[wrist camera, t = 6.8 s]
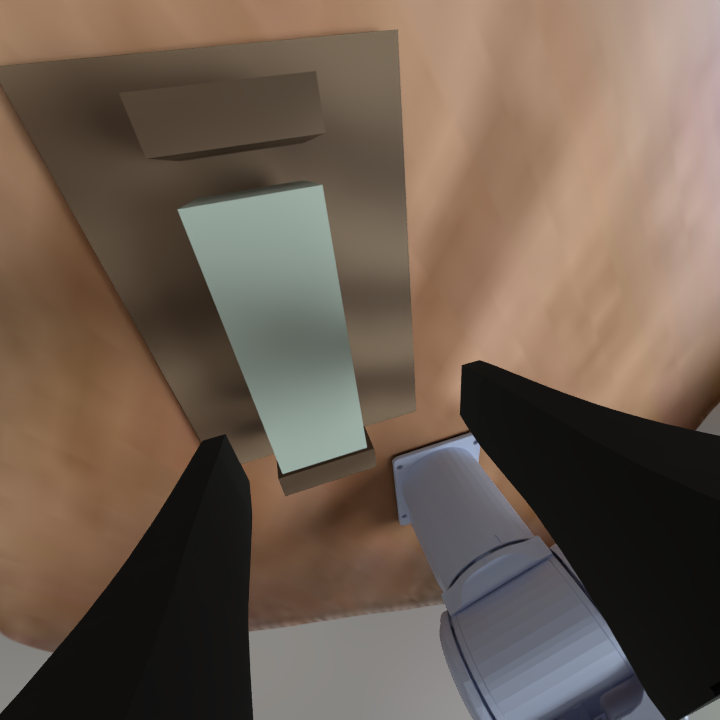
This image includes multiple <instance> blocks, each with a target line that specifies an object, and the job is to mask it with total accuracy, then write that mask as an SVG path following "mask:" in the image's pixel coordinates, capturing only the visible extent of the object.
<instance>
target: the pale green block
mask: <svg viewBox="0 0 720 720" xmlns="http://www.w3.org/2000/svg"><path fill="white" fill-rule="evenodd" d="M177 210H178V212H179V215H180V217H181V220H182V222H183V225H184V227H185V230H186V232H187V235H188V237H189V240H190V242H191V245H192V248H193V250H194V253H195V255H196V258H197V260H198V263H199V265H200V268H201V270H202V273H203V275H204V278H205V280H206V283H207V285H208V288H209V290H210V293H211V295H212V298H213V300H214V303H215V305H216V308H217V310H218V313H219V315H220V318H221V320H222V323H223V325H224V328H225V330H226V333H227V336H228V338H229V341H230V343H231V346H232V348H233V351H234V353H235V356H236V358H237V361H238V363H239V366H240V368H241V371H242V373H243V376H244V378H245V381H246V383H247V386H248V388H249V391H250V393H251V396H252V398H253V401H254V403H255V406H256V408H257V411H258V413H259V416H260V418H261V421H262V424H263V426H264V429H265V431H266V434H267V436H268V439H269V441H270V444H271V446H272V449H273V451H274V454H275V456H276V459H277V461H278V464H279V466H280V469H281V471H282V474H285V473H288V472H291V471H294V470H297V469H300V468H304V467H307V466H310V465H313V464H316V463H320V462H323V461H326V460H329V459H332V458H335V457H339V456H342V455H345V454H348V453H351V452H355V451H358V450H361V449H364V448H367V444H366V438H365V432H364V427H363V421H362V415H361V409H360V403H359V397H358V391H357V385H356V379H355V374H354V368H353V362H352V356H351V350H350V344H349V338H348V332H347V326H346V321H345V315H344V309H343V303H342V297H341V291H340V285H339V279H338V273H337V268H336V262H335V256H334V250H333V244H332V238H331V232H330V226H329V220H328V215H327V209H326V203H325V197H324V191H323V185H321V184H317V183H313V182H309V181H306V180H302V181H295V182H289V183H283V184H277V185H271V186H265V187H259V188H253V189H247V190H241V191H235V192H229V193H223V194H217V195H211V196H205V197H199V198H196V199H195V200H193V201H191V202H190V203H188V204H186V205H184V206H183V207H181V208H179V209H177Z"/></svg>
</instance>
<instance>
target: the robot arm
mask: <svg viewBox="0 0 720 720" xmlns="http://www.w3.org/2000/svg"><path fill="white" fill-rule="evenodd" d="M460 415H461V417H462V419H463V420H464V422H465V424H466V425H467V427H468V429H469V430H470V433H467V434H464V435H461V436H458V437H455V438H452V439H449V440H446V441H443V442H440V443H436V444H433V445H430V446H427V447H424V448H421V449H418V450H415V451H412V452H409V453H406V454H403V455H399V456H397V457H395V458H394V459H393V460H392V465H393V473H394V482H395V491H396V500H397V509H398V517H399V522H400V524H401V525H407V524H409V523H411V524H412V527H413V529H414V531H415V533H416V536H417V538H418V540H419V542H420V545H421V547H422V549H423V551H424V554H425V556H426V558H427V560H428V563H429V565H430V567H431V569H432V572H433V574H434V576H435V578H436V580H437V582H438V584H439V586H440V587H441V588H442V590H443V591H444V593H442V594H441V596H442V599H443V601H444V603H445V605H446V608H447V611H445V612H443V613H442V615H441V619H440V622H441V624H440V641H441V645H442V649H443V652H444V656H445V659H446V662H447V664H448V667H449V670H450V672H451V675H452V677H453V680H454V682H455V684H456V687H457V689H458V691H459V693H460V695H461V698H462V699H463V701H464V703H465V706H466V707H467V709H468V711H469V713H470V715H471V717H472V718H473V720H689V715H690V714H691V713H693V712H695V711H697V710H699V709H701V708H703V707H704V706H706V705H708V704H710V703H712V702H714V701H715V700H717V699H719V698H720V436H718V435H712V434H708V433H703V432H699V431H694V430H690V429H686V428H681V427H677V426H672V425H668V424H664V423H660V422H656V421H652V420H648V419H645V418H641V417H637V416H634V415H630V414H627V413H623V412H620V411H616V410H613V409H610V408H606V407H603V406H600V405H597V404H594V403H591V402H588V401H585V400H582V399H580V398H577V397H574V396H571V395H568V394H565V393H563V392H560V391H557V390H555V389H552V388H549V387H547V386H544V385H542V384H539V383H537V382H534V381H532V380H529V379H527V378H524V377H522V376H519V375H517V374H514V373H512V372H509V371H507V370H504V369H502V368H499V367H497V366H494V365H492V364H489V363H486V362H483V361H480V360H479V361H475V362H472V363H468V364H465V365H462V375H461V402H460ZM480 446H481V447H482V448H483V450H484V451H485V452H486V453H487V455H488V456H489V457H490V458H491V459H492V461H493V462H494V463H495V464H496V466H497V467H498V468H499V469H500V470H501V472H502V473H503V474H504V475H505V476H506V478H507V479H508V480H509V481H510V482H511V484H512V485H513V486H514V487H515V488H516V490H517V491H518V492H519V493H520V494H521V496H522V497H523V498H524V499H525V500H526V502H527V503H528V504H529V506H530V507H531V508H532V509H533V511H534V512H535V513H536V515H537V516H538V518H539V519H540V521H541V522H542V523H543V525H544V526H545V528H546V529H547V531H548V532H549V534H550V535H551V537H552V538H553V539H554V541H555V542H556V544H554V545H553V546H552V547H550V548H549V549H550V550H549V549H548V547H547V546H546V545H545V544H544V542H543V541H542V540H541V538H540V537H539V536H534V535H533V534H532V532H531V531H530V530H529V528H528V527H527V526H526V525H525V523H524V522H523V521H522V519H521V518H520V517H519V515H518V514H517V513H516V511H515V510H514V509H513V507H512V506H511V505H510V504H509V502H508V501H507V500H506V498H505V497H504V496H503V494H502V493H501V492H500V490H499V489H498V488H497V487H496V485H495V484H494V483H493V481H492V480H491V479H490V477H489V476H488V475H487V473H486V472H485V471H484V470H483V468H482V467H481V466H480V464H479V463H478V461H479V451H480ZM251 535H252V506H251V494H250V483H249V480H248V478H247V476H246V474H245V472H244V470H243V468H242V466H241V464H240V462H239V460H238V458H237V456H236V454H235V452H234V450H233V448H232V446H231V444H230V442H229V440H228V438H227V436H226V434H224V435H220V436H217V437H213V438H210V439H206V440H203V441H202V443H201V444H200V446H199V448H198V449H197V451H196V452H195V454H194V456H193V457H192V459H191V461H190V462H189V464H188V466H187V468H186V469H185V471H184V473H183V474H182V476H181V478H180V479H179V481H178V483H177V484H176V486H175V488H174V489H173V491H172V492H171V494H170V496H169V497H168V499H167V500H166V502H165V504H164V505H163V507H162V508H161V510H160V512H159V513H158V515H157V516H156V518H155V520H154V521H153V523H152V524H151V526H150V527H149V529H148V530H147V531H146V533H145V534H144V536H143V537H142V539H141V540H140V542H139V543H138V545H137V546H136V548H135V549H134V551H133V552H132V554H131V555H130V556H129V558H128V559H127V561H126V562H125V564H124V565H123V566H122V568H121V569H120V570H119V572H118V573H117V574H116V576H115V577H114V578H113V580H112V581H111V582H110V584H109V585H108V586H107V588H106V589H105V590H104V591H103V593H102V594H101V595H100V597H99V598H98V599H97V600H96V602H95V603H94V604H93V606H92V607H91V608H90V609H89V611H88V612H87V613H86V615H85V616H84V617H83V618H82V619H81V621H80V622H79V623H78V624H77V626H76V627H75V628H74V629H73V630H72V632H71V633H70V634H69V635H68V636H67V637H66V639H65V640H64V641H63V642H62V643H61V644H60V646H59V647H58V648H57V649H56V650H55V652H54V653H53V654H52V655H51V656H50V658H49V659H48V660H47V661H46V662H45V663H44V664H43V666H42V667H41V668H40V669H39V670H38V671H37V673H36V674H35V675H34V676H33V677H32V679H31V680H30V681H29V682H28V683H27V684H26V686H25V687H24V688H23V689H22V690H21V691H20V693H19V694H18V695H17V696H16V697H15V698H14V699H13V700H12V701H11V703H10V704H9V705H8V706H7V707H6V708H5V709H4V710H3V711H2V713H1V714H0V720H253V709H252V692H251V676H250V654H249V632H248V601H249V580H250V558H251Z"/></svg>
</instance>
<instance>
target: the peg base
mask: <svg viewBox="0 0 720 720" xmlns="http://www.w3.org/2000/svg"><path fill="white" fill-rule="evenodd" d="M0 84H1V85H2V87H3V89H4V91H5V93H6V94H7V96H8V98H9V100H10V102H11V103H12V105H13V107H14V109H15V110H16V112H17V114H18V116H19V118H20V119H21V121H22V123H23V125H24V127H25V128H26V130H27V132H28V134H29V135H30V137H31V139H32V141H33V143H34V144H35V146H36V148H37V150H38V152H39V153H40V155H41V157H42V159H43V160H44V162H45V164H46V166H47V168H48V169H49V171H50V173H51V175H52V177H53V178H54V180H55V182H56V184H57V185H58V187H59V189H60V191H61V193H62V194H63V196H64V198H65V200H66V201H67V203H68V205H69V207H70V209H71V210H72V212H73V214H74V216H75V218H76V219H77V221H78V223H79V225H80V226H81V228H82V230H83V232H84V234H85V235H86V237H87V239H88V241H89V243H90V244H91V246H92V248H93V250H94V251H95V253H96V255H97V257H98V259H99V260H100V262H101V264H102V266H103V268H104V269H105V271H106V273H107V275H108V276H109V278H110V280H111V282H112V284H113V285H114V287H115V289H116V291H117V293H118V294H119V296H120V298H121V300H122V301H123V303H124V305H125V307H126V309H127V310H128V312H129V314H130V316H131V318H132V319H133V321H134V323H135V325H136V326H137V328H138V330H139V332H140V334H141V335H142V337H143V339H144V341H145V342H146V344H147V346H148V348H149V350H150V351H151V353H152V355H153V357H154V359H155V360H156V362H157V364H158V366H159V367H160V369H161V371H162V373H163V375H164V376H165V378H166V380H167V382H168V384H169V385H170V387H171V389H172V391H173V392H174V394H175V396H176V398H177V400H178V401H179V403H180V405H181V407H182V409H183V410H184V412H185V414H186V416H187V417H188V419H189V421H190V423H191V425H192V426H193V428H194V430H195V432H196V434H197V435H198V437H199V439H200V441H201V442H202V441H203V440H206V439H210V438H213V437H217V436H220V435H224V434H226V436H227V438H228V440H229V442H230V444H231V446H232V448H233V450H234V452H235V454H236V456H237V458H238V460H239V462H240V464H243V463H246V462H249V461H253V460H256V459H259V458H262V457H266V456H269V455H272V454H274V451H273V449H272V446H271V444H270V441H269V439H268V436H267V434H266V431H265V429H264V426H263V424H262V421H261V418H260V416H259V413H258V411H257V408H256V406H255V403H254V401H253V398H252V396H251V393H250V391H249V388H248V386H247V383H246V381H245V378H244V376H243V373H242V371H241V368H240V366H239V363H238V361H237V358H236V356H235V353H234V351H233V348H232V346H231V343H230V341H229V338H228V336H227V333H226V330H225V328H224V325H223V323H222V320H221V318H220V315H219V313H218V310H217V308H216V305H215V303H214V300H213V298H212V295H211V293H210V290H209V288H208V285H207V283H206V280H205V278H204V275H203V273H202V270H201V268H200V265H199V263H198V260H197V258H196V255H195V253H194V250H193V248H192V245H191V242H190V240H189V237H188V235H187V232H186V230H185V227H184V225H183V222H182V220H181V217H180V215H179V212H178V210H177V209H179V208H181V207H183V206H184V205H186V204H188V203H190V202H191V201H193V200H195V199H196V198H199V197H205V196H211V195H217V194H223V193H229V192H235V191H241V190H247V189H253V188H259V187H265V186H271V185H277V184H283V183H289V182H295V181H302V180H306V181H309V182H313V183H317V184H321V185H323V191H324V197H325V203H326V209H327V215H328V220H329V226H330V232H331V238H332V244H333V250H334V256H335V262H336V268H337V273H338V279H339V285H340V291H341V297H342V303H343V309H344V315H345V321H346V326H347V332H348V338H349V344H350V350H351V356H352V362H353V368H354V374H355V379H356V385H357V391H358V397H359V403H360V409H361V415H362V421H363V427H364V432H365V438H366V444H367V448H364V449H361V450H358V451H355V452H351V453H348V454H345V455H342V456H339V457H335V458H332V459H329V460H326V461H323V462H320V463H316V464H313V465H310V466H307V467H304V468H300V469H297V470H294V471H291V472H288V473H285V474H282V471H281V469H280V466H279V464H278V461H277V468H278V479H279V481H280V484H281V486H282V489H283V491H284V494H285V496H288V495H291V494H294V493H297V492H300V491H303V490H306V489H309V488H312V487H315V486H318V485H321V484H324V483H327V482H331V481H334V480H337V479H340V478H343V477H346V476H349V475H352V474H355V473H358V472H361V471H364V470H367V469H370V468H373V467H376V466H377V465H376V458H375V452H374V448H373V445H372V443H371V441H370V438H369V436H368V434H367V431H366V429H365V426H368V425H371V424H375V423H378V422H381V421H385V420H388V419H391V418H394V417H398V416H401V415H404V414H408V413H411V412H414V411H416V399H415V378H414V357H413V336H412V315H411V295H410V274H409V253H408V232H407V211H406V191H405V170H404V149H403V128H402V107H401V87H400V66H399V45H398V29H397V30H387V31H376V32H365V33H354V34H343V35H332V36H322V37H311V38H300V39H289V40H278V41H267V42H257V43H246V44H235V45H224V46H213V47H202V48H192V49H181V50H170V51H159V52H148V53H137V54H126V55H116V56H105V57H94V58H83V59H72V60H61V61H51V62H40V63H29V64H18V65H7V66H0Z"/></svg>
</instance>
